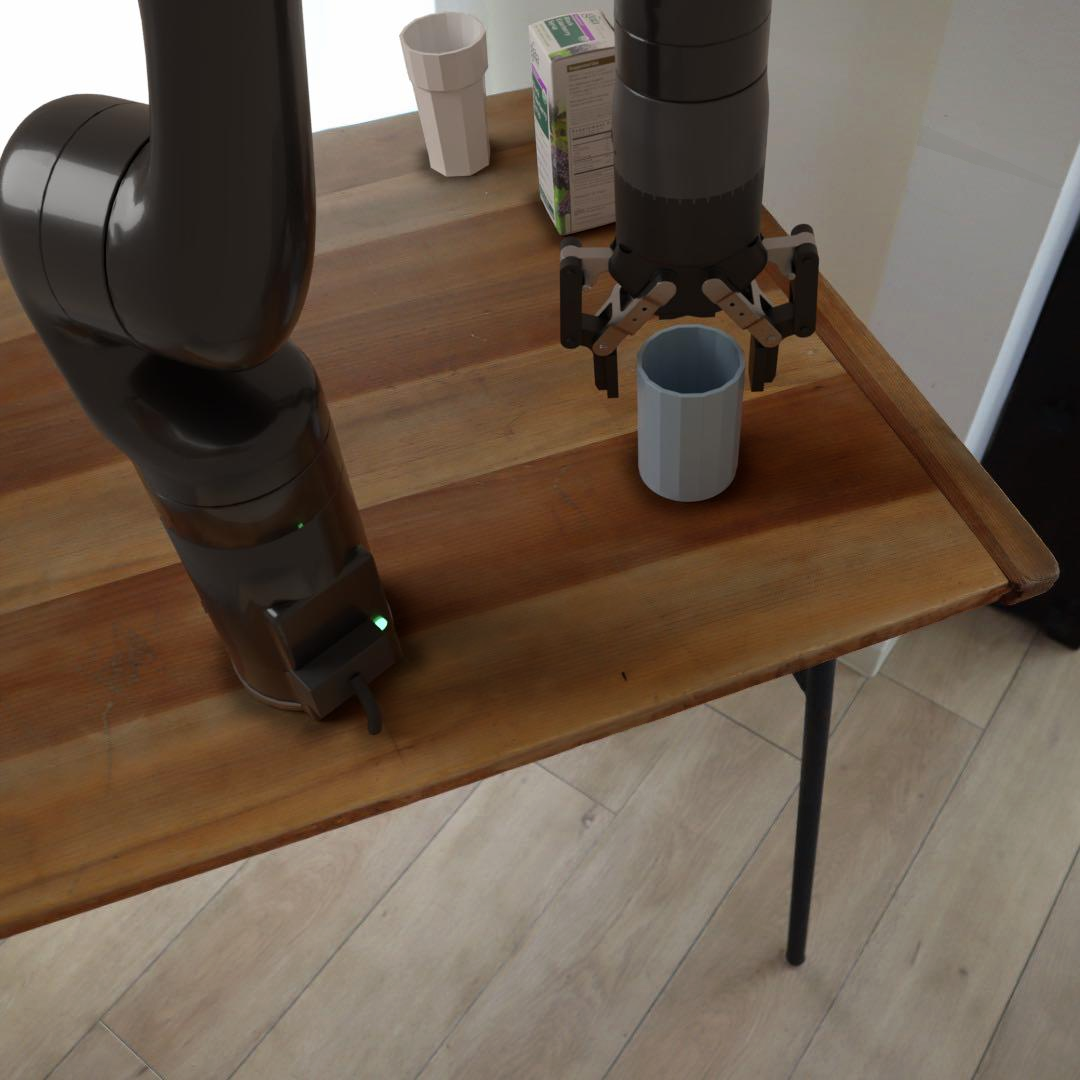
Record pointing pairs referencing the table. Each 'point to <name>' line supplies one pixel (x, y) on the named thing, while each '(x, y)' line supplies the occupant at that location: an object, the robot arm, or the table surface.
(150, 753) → the table surface
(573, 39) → the syrup box
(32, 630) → the table surface
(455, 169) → the cup
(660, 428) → the glass
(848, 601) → the table surface
